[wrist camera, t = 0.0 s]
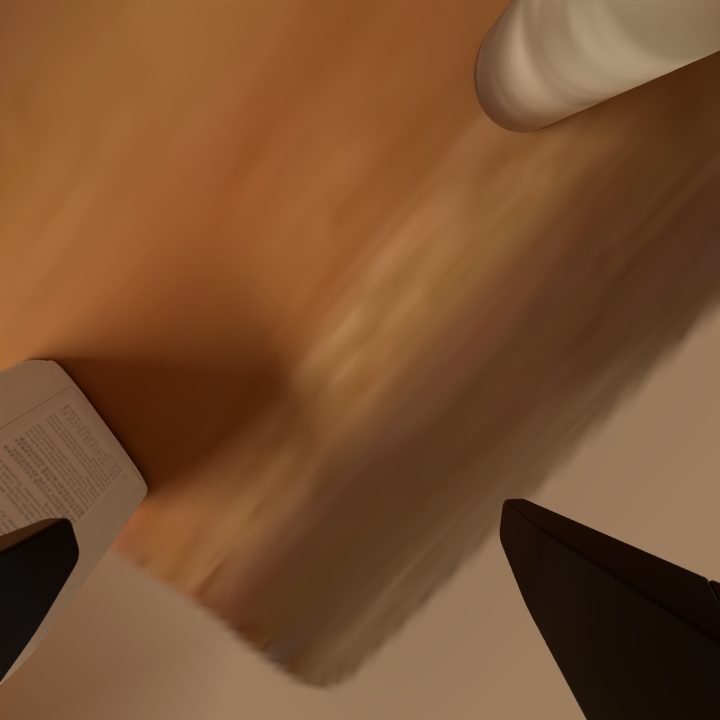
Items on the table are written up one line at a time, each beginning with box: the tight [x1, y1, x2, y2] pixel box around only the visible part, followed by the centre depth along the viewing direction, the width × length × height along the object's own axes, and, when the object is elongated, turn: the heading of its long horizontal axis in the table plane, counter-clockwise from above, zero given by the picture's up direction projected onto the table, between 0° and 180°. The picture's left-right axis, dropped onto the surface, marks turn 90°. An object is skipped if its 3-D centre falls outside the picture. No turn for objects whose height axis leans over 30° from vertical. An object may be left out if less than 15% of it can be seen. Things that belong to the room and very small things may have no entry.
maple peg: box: [474, 0, 720, 132], centre depth 14 cm, size 5×5×10 cm
